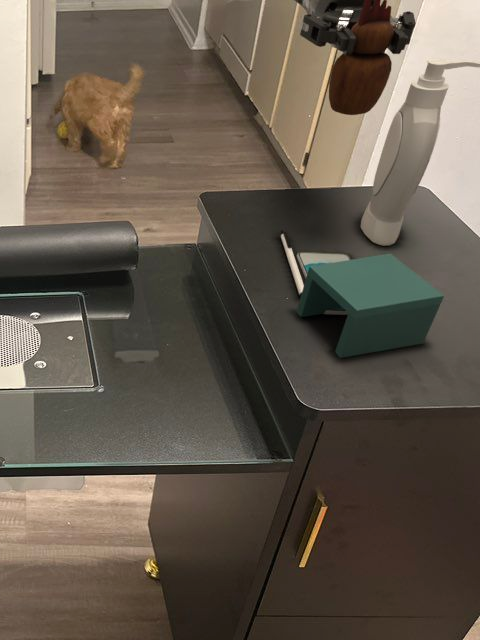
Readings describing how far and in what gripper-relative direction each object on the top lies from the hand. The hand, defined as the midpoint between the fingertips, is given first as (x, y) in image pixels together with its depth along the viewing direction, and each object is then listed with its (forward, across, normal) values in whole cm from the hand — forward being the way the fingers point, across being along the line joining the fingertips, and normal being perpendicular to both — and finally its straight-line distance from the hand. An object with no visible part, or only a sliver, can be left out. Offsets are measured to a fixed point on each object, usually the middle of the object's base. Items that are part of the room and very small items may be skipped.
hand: (375, 45), depth 89 cm
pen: (+7, -5, +28) cm, 29 cm away
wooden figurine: (-3, 0, +9) cm, 10 cm away
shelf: (+21, 0, +28) cm, 35 cm away
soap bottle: (-4, +11, +28) cm, 30 cm away
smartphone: (+11, 0, +28) cm, 30 cm away
